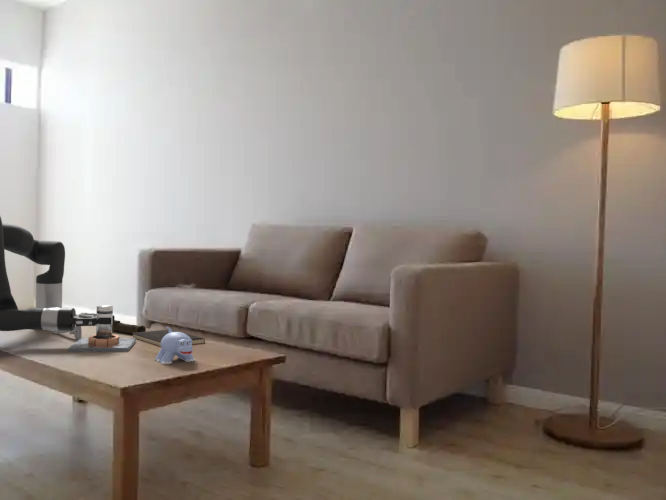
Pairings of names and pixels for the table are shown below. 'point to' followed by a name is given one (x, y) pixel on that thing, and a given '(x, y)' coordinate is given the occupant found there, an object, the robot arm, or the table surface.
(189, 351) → the hippopotamus toy
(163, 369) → the table surface
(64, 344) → the table surface
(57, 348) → the table surface
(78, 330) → the caliper
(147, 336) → the hardcover book
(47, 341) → the table surface
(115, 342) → the grey square base plate
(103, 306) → the steel piston
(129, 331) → the hand tool
